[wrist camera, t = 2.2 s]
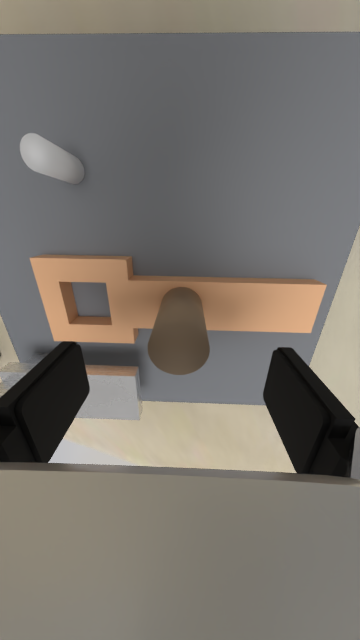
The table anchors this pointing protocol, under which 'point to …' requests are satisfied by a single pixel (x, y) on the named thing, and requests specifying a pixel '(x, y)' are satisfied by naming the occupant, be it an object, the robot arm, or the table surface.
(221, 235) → the pintle board
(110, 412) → the keeper
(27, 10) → the table surface
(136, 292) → the link
